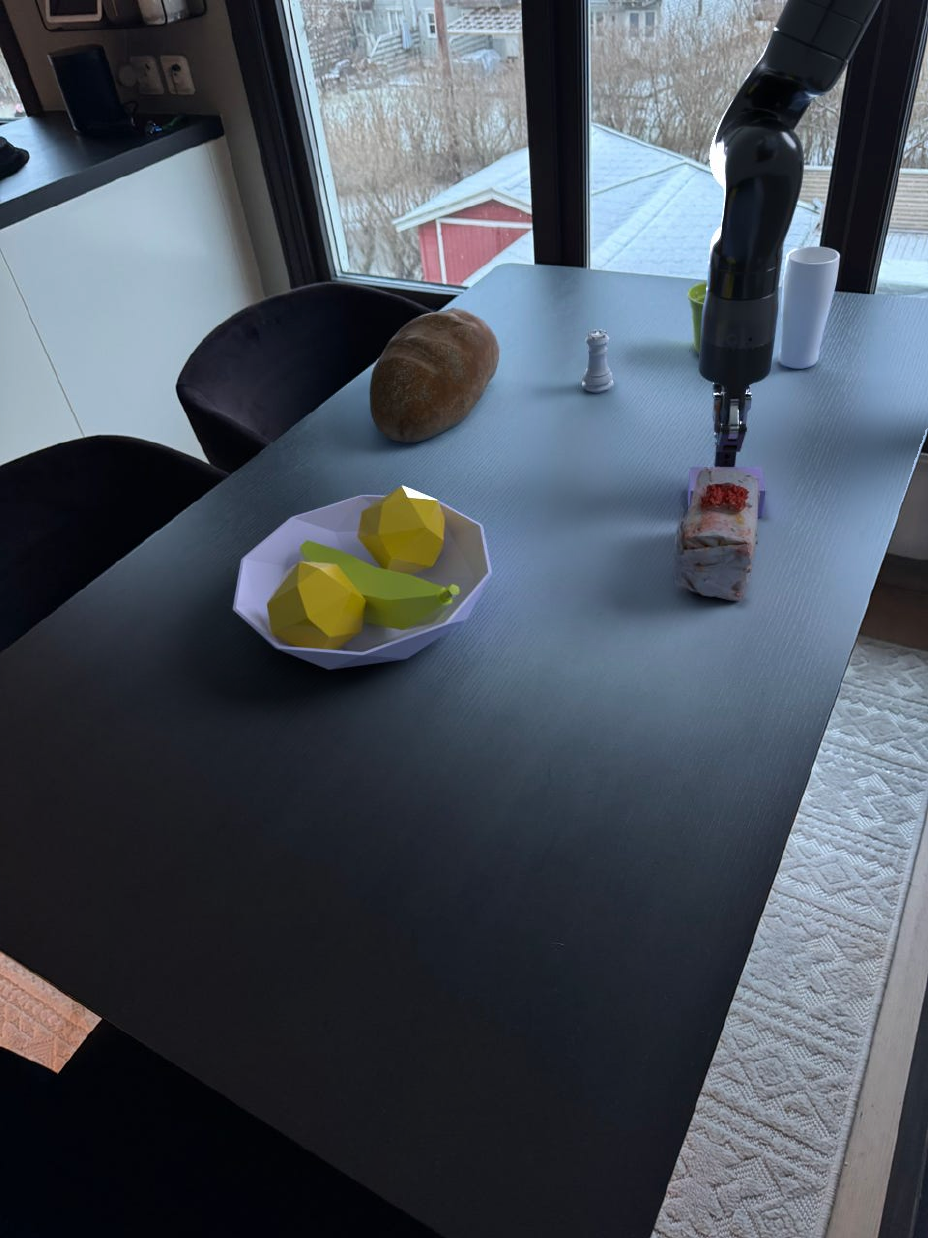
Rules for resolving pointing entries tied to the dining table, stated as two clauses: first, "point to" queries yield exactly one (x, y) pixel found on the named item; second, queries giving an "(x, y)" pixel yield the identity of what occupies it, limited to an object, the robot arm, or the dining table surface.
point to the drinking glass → (806, 303)
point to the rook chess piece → (597, 364)
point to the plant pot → (697, 310)
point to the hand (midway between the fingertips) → (723, 472)
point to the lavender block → (754, 471)
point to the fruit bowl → (364, 579)
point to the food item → (718, 535)
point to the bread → (432, 374)
